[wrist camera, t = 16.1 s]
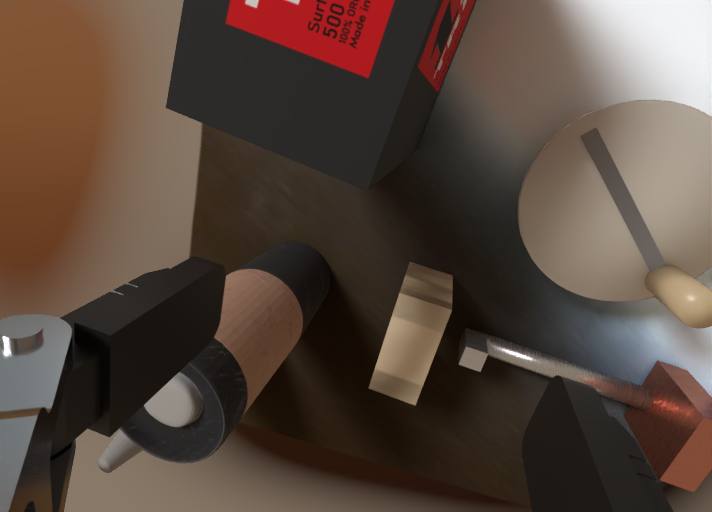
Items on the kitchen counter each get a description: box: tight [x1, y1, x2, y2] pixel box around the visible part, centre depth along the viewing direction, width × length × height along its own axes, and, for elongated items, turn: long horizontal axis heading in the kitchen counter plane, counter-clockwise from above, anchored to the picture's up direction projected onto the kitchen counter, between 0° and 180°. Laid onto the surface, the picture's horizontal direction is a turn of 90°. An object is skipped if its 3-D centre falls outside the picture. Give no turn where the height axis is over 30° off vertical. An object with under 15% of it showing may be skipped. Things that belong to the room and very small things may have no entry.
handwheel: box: [517, 100, 712, 328], centre depth 27 cm, size 14×14×6 cm
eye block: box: [369, 262, 453, 405], centre depth 36 cm, size 4×9×7 cm, turn 165°
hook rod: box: [459, 328, 712, 492], centre depth 34 cm, size 18×6×7 cm, turn 75°
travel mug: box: [120, 242, 331, 463], centre depth 31 cm, size 8×8×20 cm
